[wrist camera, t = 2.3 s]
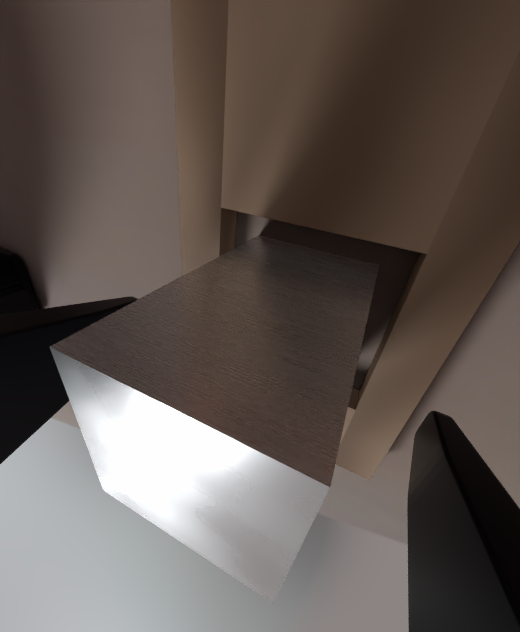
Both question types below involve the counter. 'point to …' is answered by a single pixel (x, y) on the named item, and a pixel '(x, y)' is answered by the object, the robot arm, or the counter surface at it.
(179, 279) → the square peg
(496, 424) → the counter surface
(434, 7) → the brown flat frame piece
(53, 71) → the counter surface
